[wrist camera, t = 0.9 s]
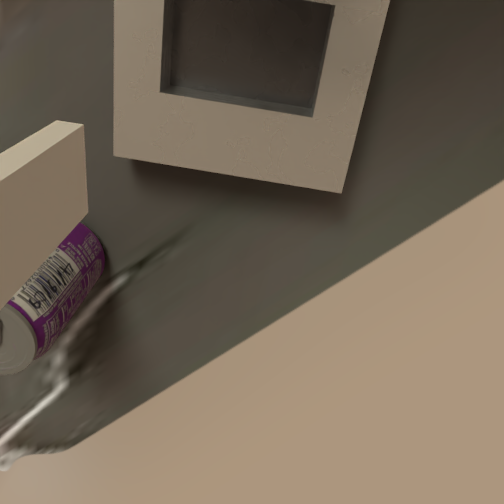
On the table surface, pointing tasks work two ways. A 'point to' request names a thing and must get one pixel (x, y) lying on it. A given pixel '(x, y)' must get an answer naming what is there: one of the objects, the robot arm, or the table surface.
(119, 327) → the table surface
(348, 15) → the socket block
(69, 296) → the beverage can
